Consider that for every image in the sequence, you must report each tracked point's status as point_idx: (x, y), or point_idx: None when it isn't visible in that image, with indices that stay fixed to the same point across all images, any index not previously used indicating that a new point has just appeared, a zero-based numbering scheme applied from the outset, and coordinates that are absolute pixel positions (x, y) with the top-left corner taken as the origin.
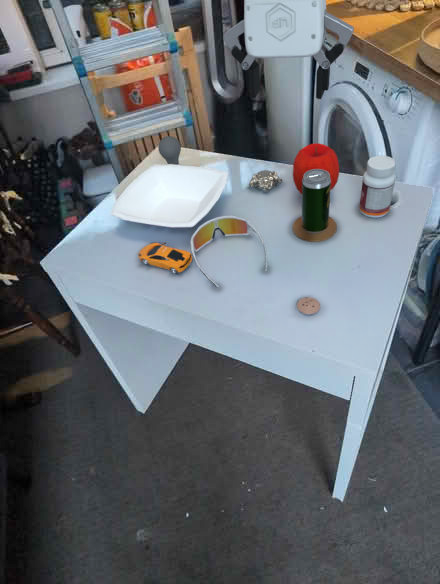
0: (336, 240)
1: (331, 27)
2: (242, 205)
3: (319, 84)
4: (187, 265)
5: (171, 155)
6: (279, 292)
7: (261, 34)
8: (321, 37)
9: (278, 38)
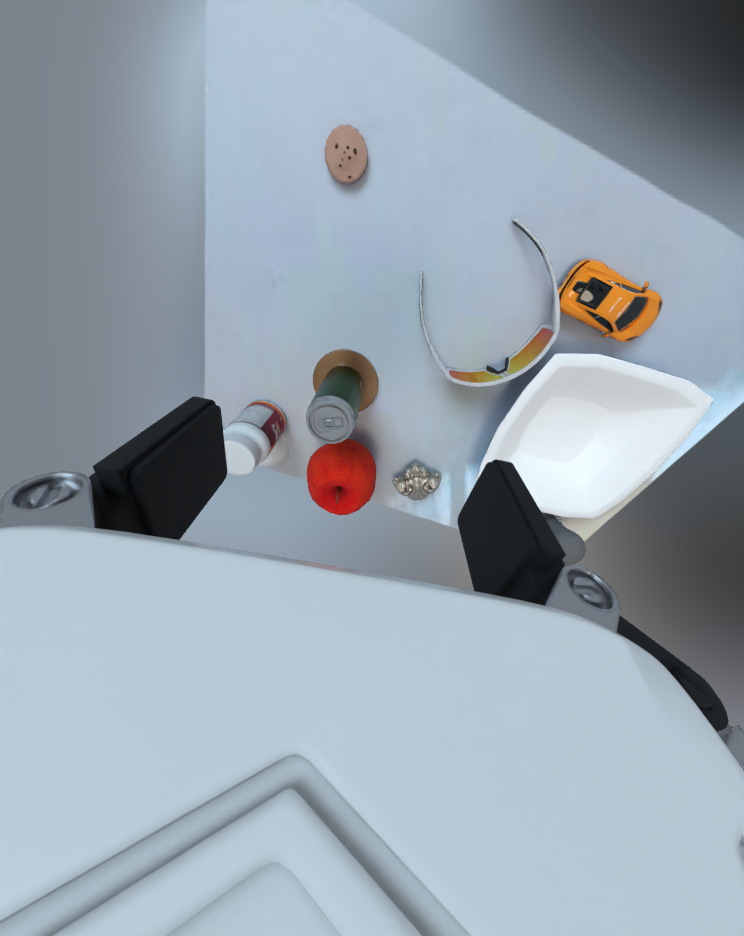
0: (311, 352)
1: None
2: (451, 440)
3: (162, 424)
4: (567, 276)
5: (562, 532)
6: (399, 206)
7: None
8: None
9: (325, 831)
